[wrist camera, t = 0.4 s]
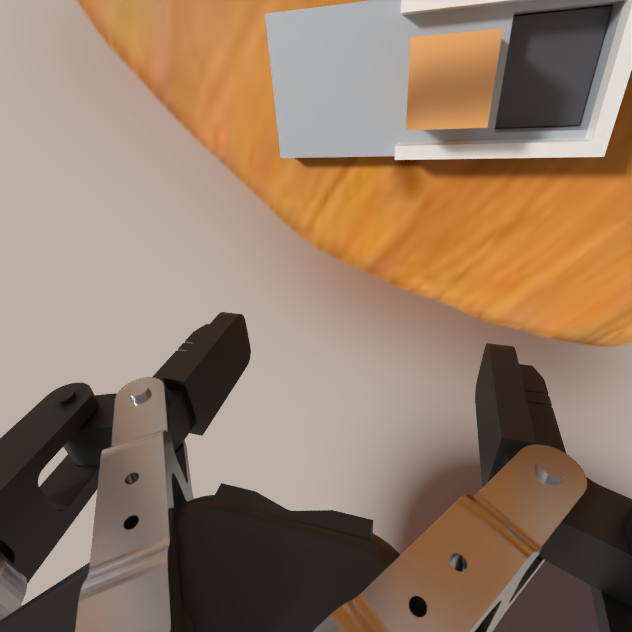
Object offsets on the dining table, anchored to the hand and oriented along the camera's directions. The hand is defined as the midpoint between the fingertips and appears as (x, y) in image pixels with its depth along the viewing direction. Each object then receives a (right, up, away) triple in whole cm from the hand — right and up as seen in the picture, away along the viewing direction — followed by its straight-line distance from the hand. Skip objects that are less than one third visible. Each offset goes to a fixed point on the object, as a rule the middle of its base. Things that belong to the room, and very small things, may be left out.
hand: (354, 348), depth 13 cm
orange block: (+8, +18, +14) cm, 24 cm away
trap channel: (+7, +19, +16) cm, 26 cm away
